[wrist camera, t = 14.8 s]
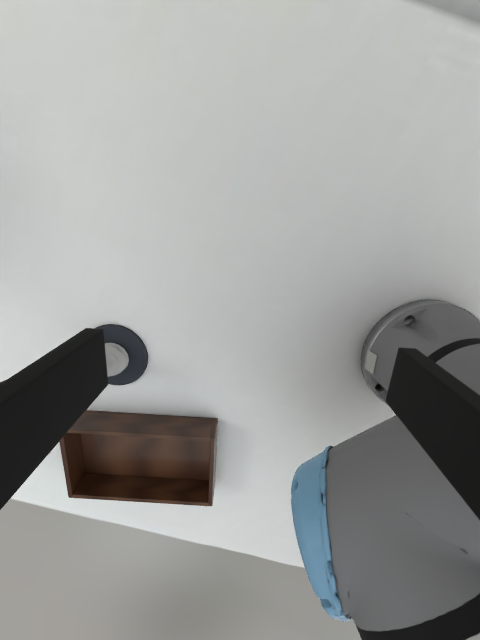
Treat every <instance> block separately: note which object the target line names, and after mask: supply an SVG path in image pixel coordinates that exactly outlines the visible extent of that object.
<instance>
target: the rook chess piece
mask: <svg viewBox="0 0 480 640" xmlns="http://www.w3.org/2000/svg"><path fill="white" fill-rule="evenodd" d="M105 353H106V364H107V375H108V377H109V376H115V375H117V374H119V373H121V372H122V371H123V370H124V369H125V368H126V367H127V366H128V362H129V358H128V354H127V352H126V351H125V349H124V348H122V347H121V346H120V345H118V344H115V343H105Z"/></svg>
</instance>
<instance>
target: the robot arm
mask: <svg viewBox="0 0 480 640" xmlns="http://www.w3.org/2000/svg"><path fill="white" fill-rule="evenodd" d="M361 366H362V372H363V375H364V378H365V380H366V382H367V383H368V385H369V386H370V387H371V389H372V390H373V391H374V393H375V394H376V395H377V396H378V397H379V398H380V399H381V400H382V401H384V402H385V403H387V404H388V405H389V406H390V408H391V409H392V410H393V411H394V413H395V414H396V416H394V417H392V418H390V419H388V420H386V421H384V422H382V423H380V424H378V425H376V426H374V427H372V428H370V429H368V430H366V431H364V432H362V433H360V434H358V435H356V436H354V437H352V438H350V439H348V440H346V441H344V442H342V443H340V444H338V445H336V446H334V447H333V446H329V447H327V448H325V450H324V452H322V453H320V454H319V455H317V456H315V457H313V458H312V459H310V460H308V461H306V462H305V463H303V464H302V465H301V466H300V467H299V468H298V469H297V470H296V472H295V475H294V477H293V481H292V488H291V495H292V498H291V504H292V514H293V521H294V527H295V532H296V537H297V541H298V545H299V549H300V553H301V556H302V560H303V563H304V566H305V569H306V572H307V575H308V578H309V580H310V583H311V585H312V587H313V590H314V592H315V594H316V595H317V597H319V598H320V600H321V604H322V607H323V608H324V610H325V611H326V612H327V614H328V615H329V616H331V617H332V618H333V619H339V620H342V621H343V622H344V621H348V620H350V619H351V618H352V619H353V620H354V622H355V624H356V627H357V629H358V631H359V633H360V636H361V638H362V640H480V321H479V320H478V319H477V318H476V317H475V316H474V315H473V314H471V313H470V312H468V311H467V310H465V309H463V308H460V307H458V306H455V305H453V304H450V303H447V302H444V301H438V300H421V301H416V302H412V303H408V304H405V305H403V306H401V307H399V308H397V309H395V310H393V311H391V312H390V313H389V314H387V315H386V316H385V317H383V318H382V319H381V320H380V321H379V322H378V323H377V324H376V325H375V326H374V328H373V329H372V330H371V332H370V333H369V335H368V337H367V339H366V341H365V344H364V346H363V350H362V356H361ZM107 385H108V375H107V364H106V353H105V342H104V331H103V329H90V328H86V329H84V330H83V331H81V332H80V333H78V334H76V335H75V336H73V337H72V338H70V339H69V340H67V341H66V342H64V343H63V344H61V345H60V346H58V347H57V348H55V349H53V350H52V351H50V352H49V353H47V354H46V355H44V356H43V357H41V358H40V359H38V360H37V361H35V362H34V363H32V364H30V365H29V366H27V367H26V368H24V369H23V370H21V371H20V372H18V373H17V374H15V375H14V376H12V377H11V378H9V379H7V380H5V381H3V382H0V509H1V508H2V507H3V506H4V505H5V504H6V503H7V502H8V500H9V499H10V498H11V497H12V496H13V495H14V493H15V492H16V491H17V490H18V489H19V488H20V486H21V485H22V484H23V483H24V482H25V481H26V479H27V478H28V477H29V476H30V475H31V474H32V472H33V471H34V470H35V469H36V468H37V467H38V465H39V464H40V463H41V462H42V461H43V460H44V458H45V457H46V456H47V455H48V454H49V453H50V451H51V450H52V449H53V448H54V447H55V446H56V444H57V443H58V442H59V441H60V440H61V439H62V437H63V436H64V435H65V434H66V433H67V432H68V430H69V429H70V428H71V427H72V426H73V425H74V423H75V422H76V421H77V420H78V419H79V418H80V416H81V415H82V414H83V413H84V412H85V411H86V410H87V408H88V407H89V406H90V405H91V404H92V403H93V401H94V400H95V399H96V398H97V397H98V396H99V394H100V393H101V392H102V391H103V390H104V389H105V387H106V386H107Z"/></svg>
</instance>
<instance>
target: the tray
mask: <svg viewBox="0 0 480 640" xmlns="http://www.w3.org/2000/svg"><path fill="white" fill-rule="evenodd" d="M217 424H218V418H201V417H185V416H169V415H152V414H136V413H120V412H103V411H87V410H86V411H85V412H84V413H83V414H82V415H81V416H80V418H79V419H78V420H77V421H76V422H75V423H74V425H73V426H72V427H71V428H70V429H69V430H68V432H67V433H66V434H65V435H64V436H63V437H62V439H61V440H60V447H61V453H62V459H63V466H64V472H65V478H66V484H67V490H68V496H69V498H85V499H101V500H118V501H134V502H151V503H167V504H183V505H200V506H212V504H213V496H214V487H215V472H216V448H217Z"/></svg>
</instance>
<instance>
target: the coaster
mask: <svg viewBox="0 0 480 640" xmlns="http://www.w3.org/2000/svg"><path fill="white" fill-rule="evenodd" d="M95 329H103V331H104V342H105V343H115V344H118V345H120V346H121V347H122V348H124V349H125V351H126V352H127V354H128V358H129V362H128V366H127V367H126V368H125V369H124V370H123V371H122V372H121V373H119V374H117V375H115V376H109V377H108V384H112V385H125V384H129V383H132V382H134V381H136V380H137V379H138V378H139V377H141V375H142V374H143V373H144V371H145V369H146V367H147V363H148V354H147V350H146V347H145V345H144V343H143V342H142V340H141V339H140V338H139V337H138V336H137V335H136V334H135V333H134V332H133V331H131V330H129V329H128V328H125V327H123V326H119V325H111V324H109V325H102V326H99V327H97V328H95Z"/></svg>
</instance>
